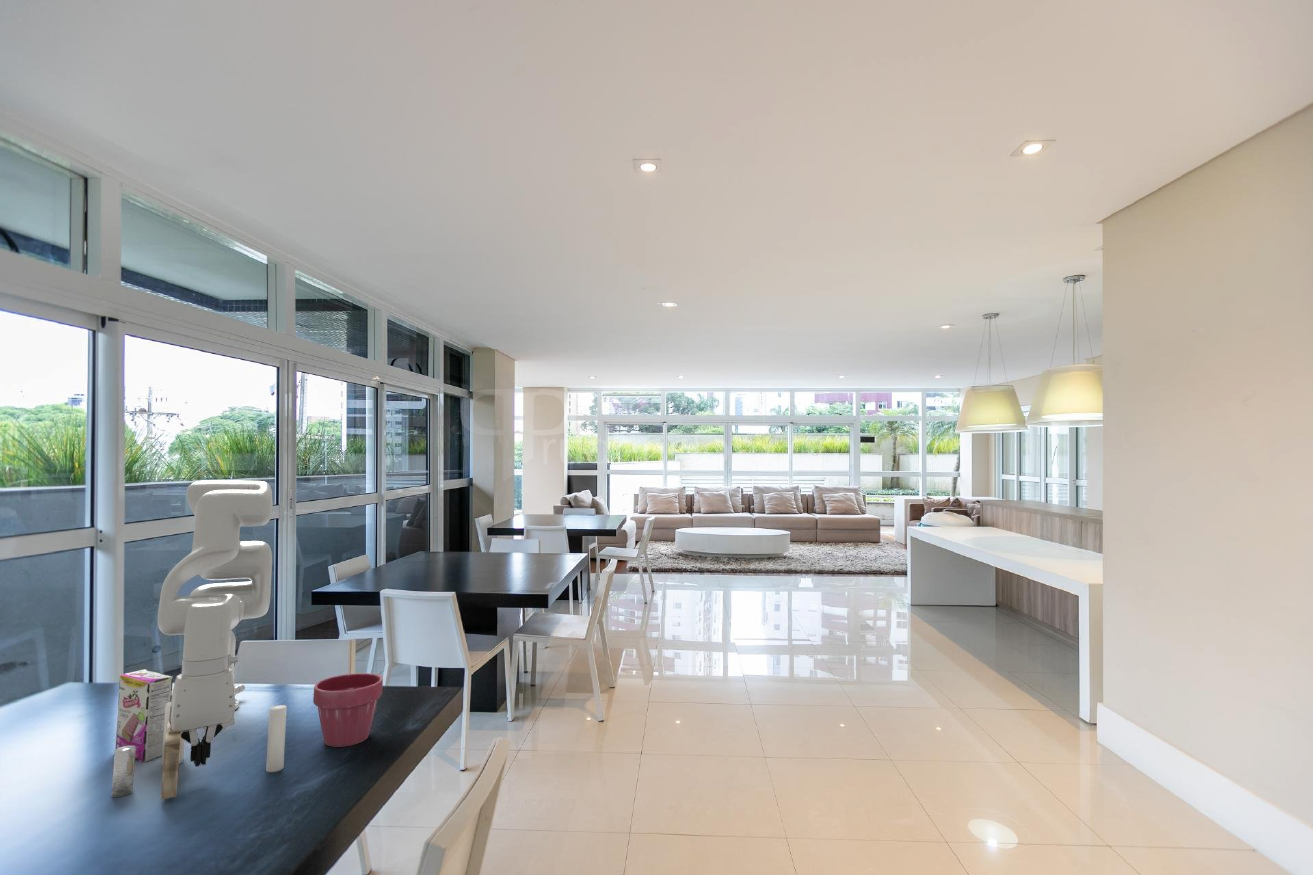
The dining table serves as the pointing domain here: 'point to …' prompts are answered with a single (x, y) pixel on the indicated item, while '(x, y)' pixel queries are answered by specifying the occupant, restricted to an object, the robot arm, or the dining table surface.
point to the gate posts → (274, 737)
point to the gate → (170, 764)
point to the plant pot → (347, 707)
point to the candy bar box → (143, 712)
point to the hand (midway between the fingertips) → (199, 762)
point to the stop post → (123, 771)
